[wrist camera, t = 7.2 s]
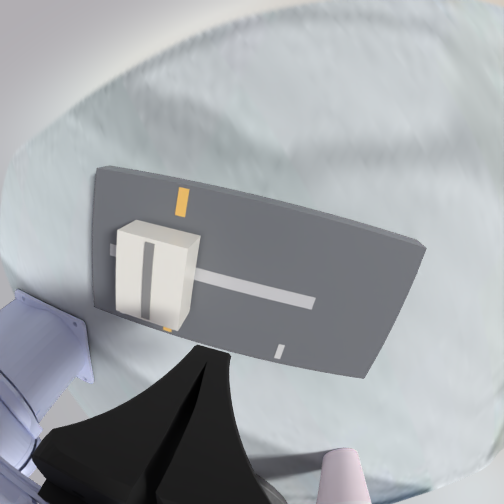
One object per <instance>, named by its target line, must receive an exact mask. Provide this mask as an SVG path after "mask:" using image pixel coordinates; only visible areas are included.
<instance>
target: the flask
mask: <svg viewBox="0 0 504 504" xmlns="http://www.w3.org/2000/svg"><path fill="white" fill-rule="evenodd" d="M255 475H256V477H257V479H258V481H259V483H260V485H261V486H262V488H263V490H264V491H265V493H266V495H267V496H268V498H269V500H270V501H271V503H272V504H287V502H286V500H285V499H284V497H283V496H282V495H281V494H280V493H279V492H278V491H277V490H276V489H275V488H274V487H273V486H272V485H270V484H269V483H268V482H267V481H265V480H264V479H263V478H261V477H260V476H258V475H257V474H255Z"/></svg>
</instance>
